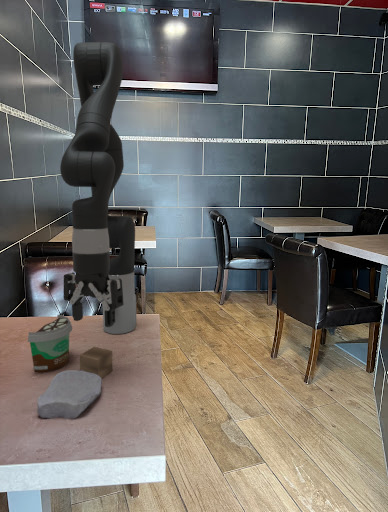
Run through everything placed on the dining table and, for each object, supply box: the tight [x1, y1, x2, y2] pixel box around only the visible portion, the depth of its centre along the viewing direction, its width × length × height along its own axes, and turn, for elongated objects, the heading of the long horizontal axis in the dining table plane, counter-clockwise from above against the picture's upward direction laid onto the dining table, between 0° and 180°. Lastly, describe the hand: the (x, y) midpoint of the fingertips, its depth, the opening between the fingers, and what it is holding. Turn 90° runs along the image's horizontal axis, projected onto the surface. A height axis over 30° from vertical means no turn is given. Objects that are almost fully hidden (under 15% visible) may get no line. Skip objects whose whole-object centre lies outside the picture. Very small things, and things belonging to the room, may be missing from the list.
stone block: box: [36, 369, 103, 420], centre depth 71 cm, size 12×5×10 cm
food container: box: [27, 314, 73, 374], centre depth 85 cm, size 12×6×10 cm, turn 168°
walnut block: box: [78, 346, 113, 380], centre depth 81 cm, size 5×5×5 cm
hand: (93, 322), depth 79 cm, fingers open, 8 cm apart
